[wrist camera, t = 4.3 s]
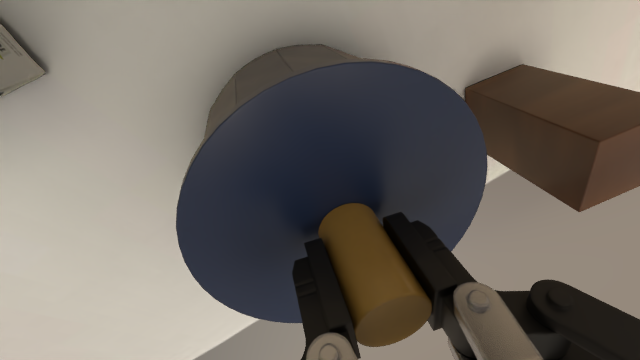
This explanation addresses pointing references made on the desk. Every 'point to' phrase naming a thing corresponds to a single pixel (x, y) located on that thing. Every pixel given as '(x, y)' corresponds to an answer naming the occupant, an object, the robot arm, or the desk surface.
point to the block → (561, 132)
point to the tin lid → (331, 190)
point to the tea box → (15, 64)
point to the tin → (269, 74)
